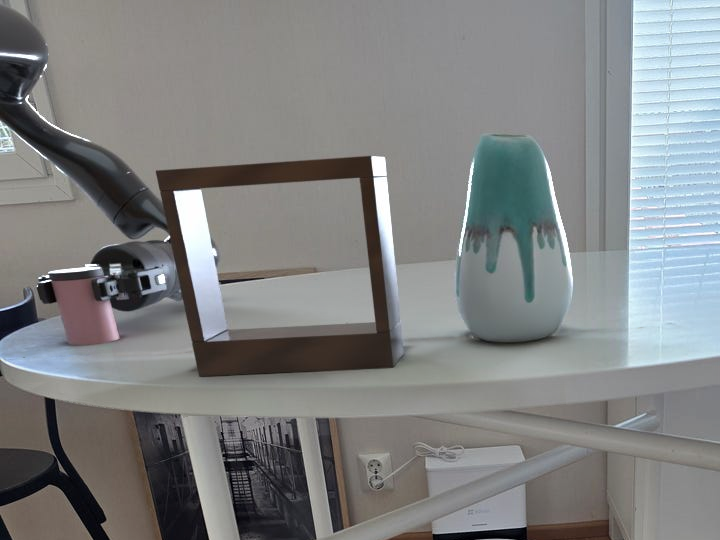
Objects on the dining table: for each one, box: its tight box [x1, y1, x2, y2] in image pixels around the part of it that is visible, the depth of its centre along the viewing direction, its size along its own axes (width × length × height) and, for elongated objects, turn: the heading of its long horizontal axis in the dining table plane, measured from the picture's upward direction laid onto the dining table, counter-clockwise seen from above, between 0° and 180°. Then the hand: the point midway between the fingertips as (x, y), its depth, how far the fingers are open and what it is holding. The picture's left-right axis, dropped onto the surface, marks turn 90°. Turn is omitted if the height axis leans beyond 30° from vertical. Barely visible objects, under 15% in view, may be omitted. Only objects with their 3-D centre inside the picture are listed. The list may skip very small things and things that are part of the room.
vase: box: [453, 132, 574, 343], centre depth 82 cm, size 12×12×18 cm
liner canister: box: [47, 267, 120, 346], centre depth 96 cm, size 6×6×8 cm
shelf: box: [155, 155, 405, 377], centre depth 76 cm, size 18×6×16 cm, turn 86°
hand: (69, 292), depth 93 cm, fingers closed on liner canister, 5 cm apart
